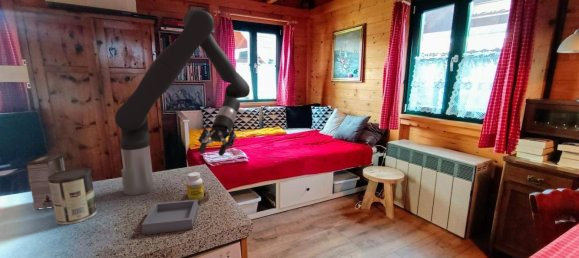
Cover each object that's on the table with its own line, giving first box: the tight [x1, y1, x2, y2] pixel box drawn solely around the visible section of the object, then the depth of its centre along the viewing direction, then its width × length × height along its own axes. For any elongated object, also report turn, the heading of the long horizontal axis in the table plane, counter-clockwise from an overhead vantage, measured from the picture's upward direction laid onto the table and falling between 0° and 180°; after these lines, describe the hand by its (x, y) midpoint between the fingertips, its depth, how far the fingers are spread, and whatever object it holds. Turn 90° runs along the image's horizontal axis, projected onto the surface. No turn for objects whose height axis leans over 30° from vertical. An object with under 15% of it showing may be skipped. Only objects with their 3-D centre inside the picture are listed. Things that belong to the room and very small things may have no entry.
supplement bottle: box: [186, 171, 204, 200], centre depth 93 cm, size 5×5×10 cm
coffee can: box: [48, 167, 98, 225], centre depth 82 cm, size 10×10×14 cm
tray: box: [141, 199, 199, 236], centre depth 80 cm, size 13×13×3 cm
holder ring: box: [181, 190, 210, 206], centre depth 94 cm, size 9×9×2 cm
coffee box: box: [25, 154, 67, 210], centre depth 91 cm, size 9×6×16 cm
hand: (210, 153), depth 101 cm, fingers open, 8 cm apart
